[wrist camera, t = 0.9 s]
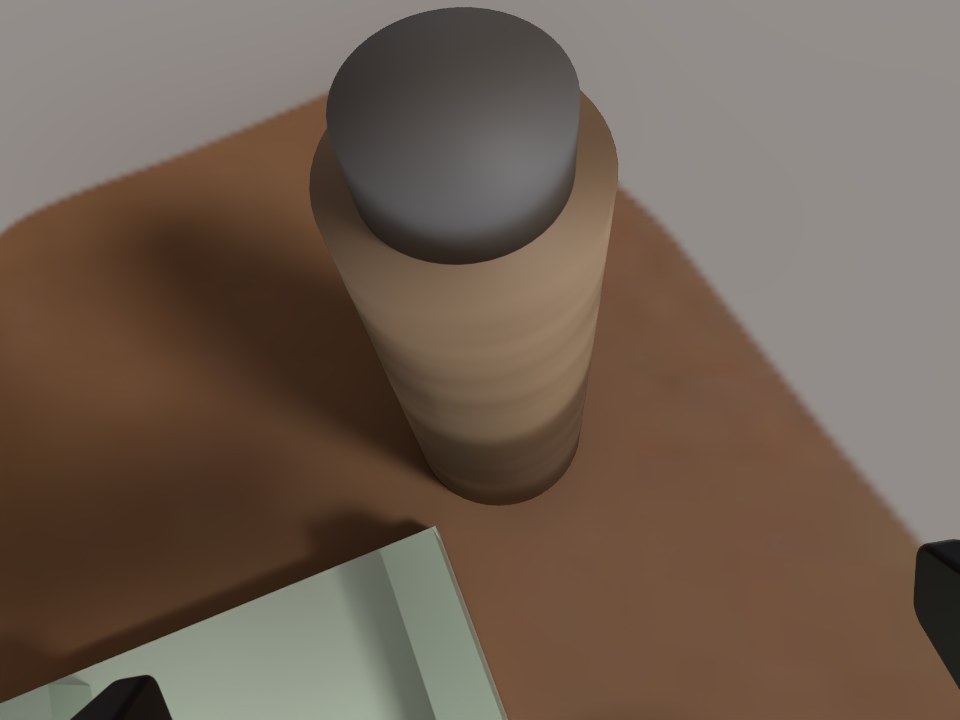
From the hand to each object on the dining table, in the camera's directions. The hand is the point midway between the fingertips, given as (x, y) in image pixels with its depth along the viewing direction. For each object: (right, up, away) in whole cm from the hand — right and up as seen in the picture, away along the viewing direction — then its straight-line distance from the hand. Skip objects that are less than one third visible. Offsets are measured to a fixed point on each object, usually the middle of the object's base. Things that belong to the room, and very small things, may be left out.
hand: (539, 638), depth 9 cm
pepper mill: (0, +1, +16) cm, 16 cm away
